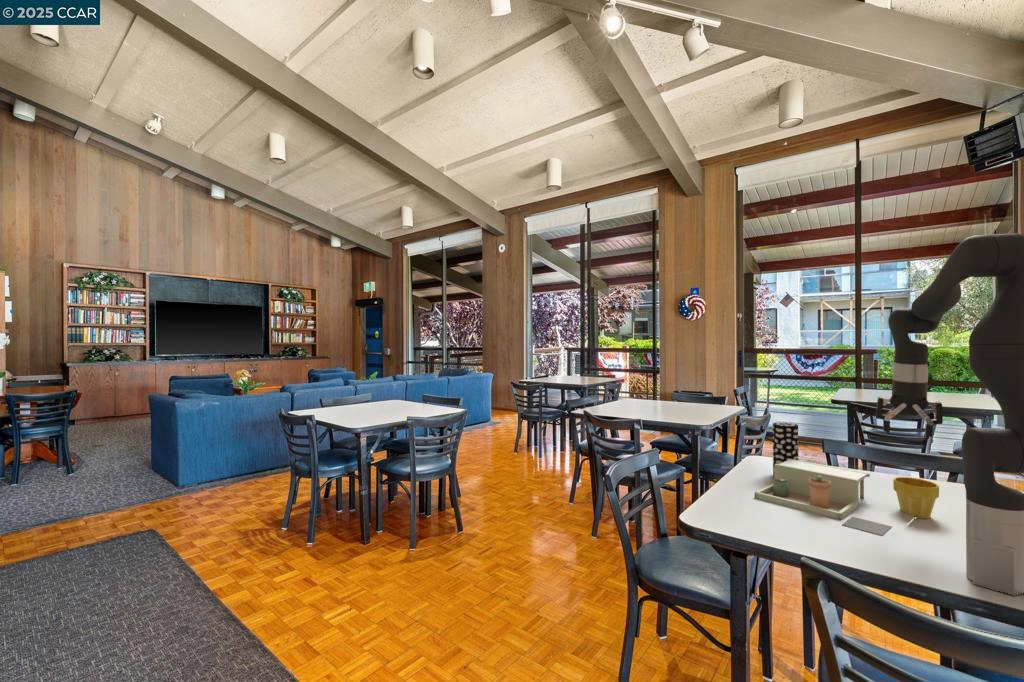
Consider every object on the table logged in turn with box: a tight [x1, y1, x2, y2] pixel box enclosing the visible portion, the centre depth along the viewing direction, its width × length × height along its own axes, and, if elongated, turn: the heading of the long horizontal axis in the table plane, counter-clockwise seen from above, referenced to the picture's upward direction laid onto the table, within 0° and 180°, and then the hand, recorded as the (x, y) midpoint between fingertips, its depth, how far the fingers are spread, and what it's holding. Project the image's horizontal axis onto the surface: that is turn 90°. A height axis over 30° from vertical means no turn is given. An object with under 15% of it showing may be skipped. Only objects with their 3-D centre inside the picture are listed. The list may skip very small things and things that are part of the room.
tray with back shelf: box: [754, 459, 871, 520], centre depth 150 cm, size 28×24×9 cm
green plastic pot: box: [772, 478, 789, 497], centre depth 153 cm, size 4×4×5 cm
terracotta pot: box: [808, 475, 831, 509], centre depth 142 cm, size 6×6×10 cm
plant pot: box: [892, 476, 940, 519], centre depth 137 cm, size 10×10×10 cm
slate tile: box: [841, 516, 893, 537], centre depth 127 cm, size 9×9×1 cm
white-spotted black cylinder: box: [772, 421, 799, 475], centre depth 176 cm, size 8×8×20 cm
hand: (907, 435), depth 131 cm, fingers open, 8 cm apart
